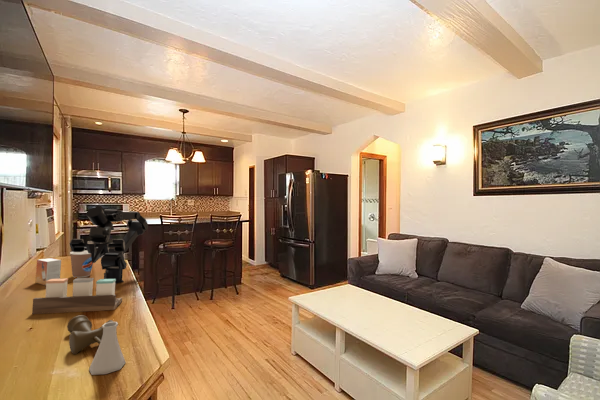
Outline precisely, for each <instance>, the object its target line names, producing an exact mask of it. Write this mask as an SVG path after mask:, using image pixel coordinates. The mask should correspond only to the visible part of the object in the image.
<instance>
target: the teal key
mask: <svg viewBox="0 0 600 400" xmlns="http://www.w3.org/2000/svg"><path fill="white" fill-rule="evenodd" d="M115 281H116V279H104V278H100V279H97V281H95V284H96V289H95V296H98V295H116V294H115V293H116V283H115Z"/></svg>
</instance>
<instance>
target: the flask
mask: <svg viewBox="0 0 600 400" xmlns="http://www.w3.org/2000/svg"><path fill="white" fill-rule="evenodd" d="M101 326H102V328H103V336H102V340H101V343H100V344H99V345H98V348H97V350H96V352H95V355H94V357H93V359H92V362H91V363H90V366H89V372H90V374H91V376H92V375H93V376H95V375H107V374H110V373H113V372H116V371H119V370H121V369H122V367H123V366H124V365H125V364H126V359H125V356H124V354H123V352H122V349H121V346H120V344H119V340H118V336H117V334H116V331H117V328H118V326H119V323H118V321H113V322H108V323H106V322H105V323H104V324H102V325H101Z"/></svg>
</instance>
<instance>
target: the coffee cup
mask: <svg viewBox="0 0 600 400" xmlns="http://www.w3.org/2000/svg"><path fill="white" fill-rule="evenodd" d="M69 254H70V263H71V265H70V266H71V274H72V277H73V278H75V277H77V278H88V277H90V276H91V273H92V269H93V264H94V263H92V258H91V253H88V251H87V249H86V250H84V251H83V252H73V251H70V252H69ZM77 278H76V279H77Z"/></svg>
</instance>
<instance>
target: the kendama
mask: <svg viewBox="0 0 600 400" xmlns="http://www.w3.org/2000/svg"><path fill="white" fill-rule="evenodd" d="M108 322H114V320H112V319H109V320H107V321H106V322H105V323H108ZM66 328H67V331H68V332H69V333H70V334H69V338H68V339H69V340H68V343H69V345H68V346H69V349H70V352H71V353H72V355H77V354H78V353H80V352H81V351H83V350H84V349H85V348H86V347H88V346H90V345H93V344H96V343H97V344H99V345H100V343H101V340H102V336H103V328H102V325H101V326H100V327H98V328H96V329H93V330H92V328H93V324H92V321H91V320H90V319H89V318H88V316H86V315H84V314H81V315H76V316H73V317H72V318H71V319H70V320H69V321H68V323H67V326H66ZM116 334H117V330H116Z"/></svg>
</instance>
